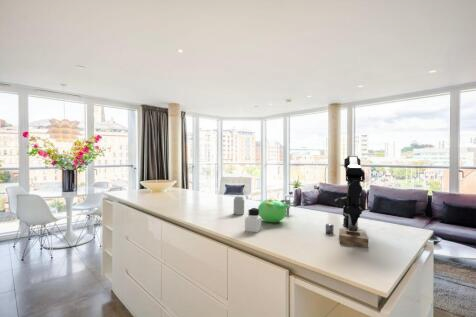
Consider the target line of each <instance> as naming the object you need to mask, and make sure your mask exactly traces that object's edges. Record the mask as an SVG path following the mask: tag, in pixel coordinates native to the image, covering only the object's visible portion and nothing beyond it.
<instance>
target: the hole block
mask: <svg viewBox="0 0 476 317" xmlns="http://www.w3.org/2000/svg"><path fill="white" fill-rule="evenodd" d="M348 229H349V228H348ZM348 229H345V228H339V238H338V239H339V244H340V245H346V246H353V247H359V248H360V247H361V248H369V236H368V235H367V232H366V231H364V230H362V231H361V230H358V231H356V232H354V231H349V230H348Z"/></svg>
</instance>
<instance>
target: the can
mask: <svg viewBox="0 0 476 317" xmlns="http://www.w3.org/2000/svg"><path fill="white" fill-rule="evenodd" d="M233 214H234V215H235V216H243V215H244V214H245V198H244V196H235V197H234V198H233Z"/></svg>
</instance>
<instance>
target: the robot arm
mask: <svg viewBox="0 0 476 317" xmlns="http://www.w3.org/2000/svg"><path fill="white" fill-rule="evenodd" d="M343 167H344V169H345V181H346V182H347V193H346V196H343V197H337V198H336V199H334V202H335V206H336V207H338V208H339V207H341V206H342V207H343V209H342V210H343V211H342V216H343V224H342V226H344V227H345V228H348V229H349V215H350V217H351V222H352V226H355V224H356V222H357V220H358V221H359V218H360V217H361V215H363V213H362V212H363V209H362V208H361V198H362V196H361V194H362V193H363V187H362V185H361V183H364V182H365V181H366V177H365V174H366V173H365V171H364V169H362V165H361V159H360V158H359V156H358V155H355V154H353V155H348V156H347V157H346V158H344V164H343Z"/></svg>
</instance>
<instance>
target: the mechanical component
mask: <svg viewBox="0 0 476 317" xmlns="http://www.w3.org/2000/svg"><path fill="white" fill-rule="evenodd" d="M280 201H281V202H282V203H283V204H284V205H290V207H289V208H287V209H286V210H287V213H286V215H290V209H291V207H294V206H295V204H296V200H293V201H292V202H291V200H290V199H281V200H280Z"/></svg>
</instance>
